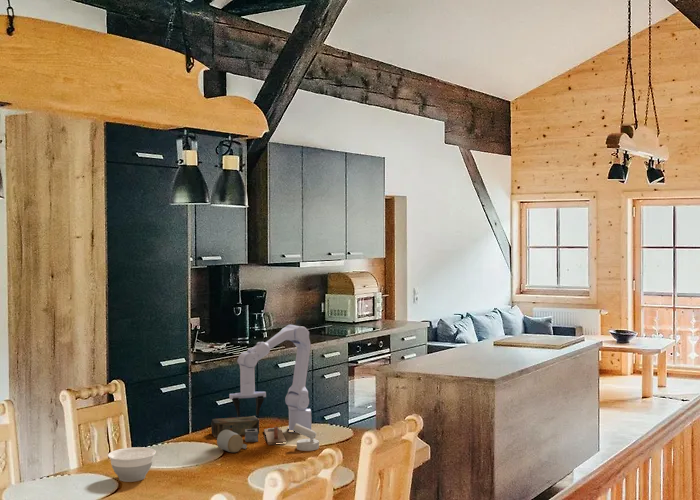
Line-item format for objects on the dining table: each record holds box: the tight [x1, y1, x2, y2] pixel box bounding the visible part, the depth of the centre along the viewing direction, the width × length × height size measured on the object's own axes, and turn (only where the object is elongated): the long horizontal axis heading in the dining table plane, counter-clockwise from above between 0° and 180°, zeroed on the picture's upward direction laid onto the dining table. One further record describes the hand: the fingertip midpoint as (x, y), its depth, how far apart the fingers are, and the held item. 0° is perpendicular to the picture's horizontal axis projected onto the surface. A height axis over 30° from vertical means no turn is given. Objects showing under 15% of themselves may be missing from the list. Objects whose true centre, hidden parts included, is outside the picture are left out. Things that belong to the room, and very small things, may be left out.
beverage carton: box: [210, 415, 260, 438], centre depth 348 cm, size 8×19×7 cm, turn 109°
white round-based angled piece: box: [293, 423, 320, 452], centre depth 324 cm, size 9×10×10 cm
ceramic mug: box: [216, 430, 248, 454], centre depth 321 cm, size 11×8×8 cm
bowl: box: [107, 446, 157, 483], centre depth 286 cm, size 16×16×8 cm
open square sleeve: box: [244, 429, 259, 443], centre depth 336 cm, size 5×5×4 cm
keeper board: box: [263, 426, 287, 446], centre depth 340 cm, size 7×22×6 cm, turn 10°
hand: (248, 415), depth 338 cm, fingers open, 7 cm apart
